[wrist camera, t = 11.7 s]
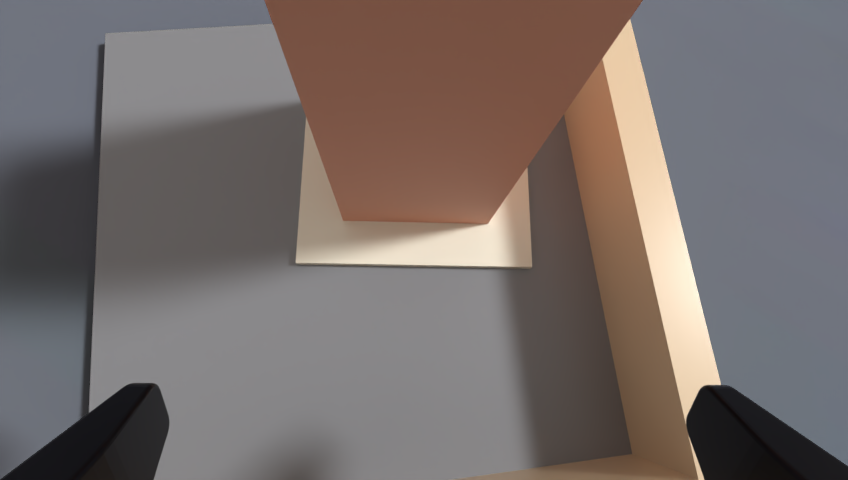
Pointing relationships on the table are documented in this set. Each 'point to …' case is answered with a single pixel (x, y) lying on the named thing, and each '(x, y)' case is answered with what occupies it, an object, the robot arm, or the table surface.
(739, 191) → the table surface
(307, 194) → the two-wall tray
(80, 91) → the table surface
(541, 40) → the terracotta block
